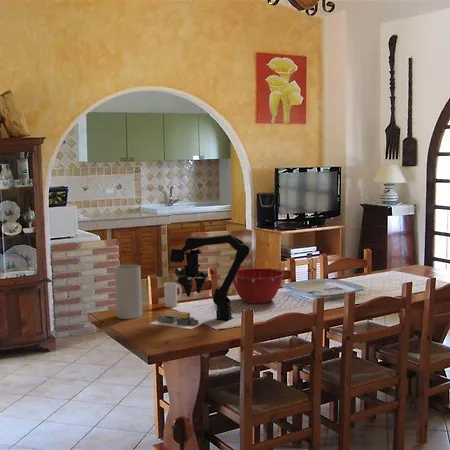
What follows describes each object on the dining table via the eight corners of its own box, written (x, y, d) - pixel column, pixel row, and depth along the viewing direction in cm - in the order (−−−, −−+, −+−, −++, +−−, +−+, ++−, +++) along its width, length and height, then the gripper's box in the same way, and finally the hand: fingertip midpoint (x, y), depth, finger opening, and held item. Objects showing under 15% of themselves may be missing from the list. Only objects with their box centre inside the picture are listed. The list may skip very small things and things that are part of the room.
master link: (190, 323, 298) (189, 312, 297) (186, 324, 295) (186, 314, 295) (168, 320, 303) (168, 310, 303) (165, 321, 301) (164, 311, 300)
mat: (205, 322, 300) (205, 321, 299) (191, 329, 288) (191, 328, 288) (165, 317, 310) (165, 316, 310) (149, 324, 299) (149, 323, 299)
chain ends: (200, 323, 297) (199, 318, 297) (193, 326, 292) (193, 321, 291) (162, 318, 307) (162, 313, 307) (155, 321, 302) (155, 316, 301)
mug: (168, 308, 329) (167, 285, 328) (162, 305, 335) (161, 283, 333) (185, 305, 335) (184, 282, 333) (179, 302, 340) (178, 280, 339)
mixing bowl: (258, 292, 361) (258, 265, 359) (295, 300, 339) (294, 272, 337) (220, 300, 343) (219, 272, 341) (256, 310, 321) (255, 280, 319)
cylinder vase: (129, 321, 305) (127, 270, 302) (111, 317, 313) (109, 267, 310) (147, 315, 315) (145, 266, 312) (129, 312, 323) (127, 263, 320)
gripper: (188, 258, 315) (189, 289, 317) (167, 264, 299) (168, 297, 301) (207, 260, 310) (208, 291, 312) (187, 266, 294) (188, 299, 296)
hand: (193, 294), depth 305 cm, fingers open, 9 cm apart
